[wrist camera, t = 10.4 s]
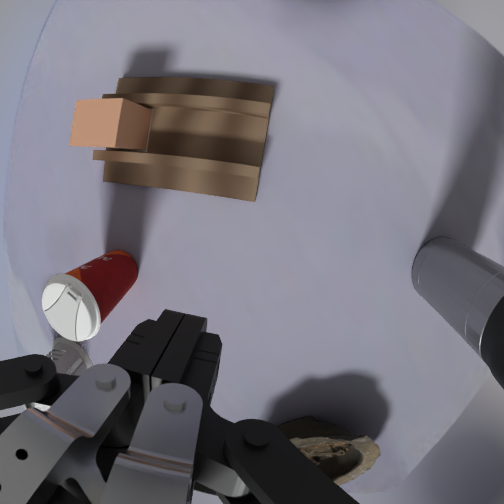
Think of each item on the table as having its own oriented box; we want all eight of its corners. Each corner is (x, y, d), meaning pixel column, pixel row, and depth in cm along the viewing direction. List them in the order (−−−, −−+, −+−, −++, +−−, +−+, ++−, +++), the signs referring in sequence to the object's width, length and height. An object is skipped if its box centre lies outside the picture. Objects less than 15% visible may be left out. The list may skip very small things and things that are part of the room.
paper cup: (112, 231, 37) (48, 263, 24) (155, 265, 38) (105, 313, 25) (90, 272, 39) (32, 314, 26) (130, 304, 40) (81, 358, 27)
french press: (44, 343, 44) (-33, 421, 20) (77, 328, 42) (-12, 423, 18) (73, 383, 47) (10, 468, 23) (109, 374, 45) (41, 478, 21)
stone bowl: (257, 395, 43) (259, 438, 34) (390, 399, 45) (409, 433, 36) (233, 469, 50) (233, 504, 41) (342, 470, 52) (350, 501, 43)
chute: (274, 88, 31) (274, 79, 27) (255, 201, 35) (253, 205, 31) (121, 79, 31) (107, 72, 28) (106, 180, 35) (90, 183, 32)
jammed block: (152, 110, 32) (123, 98, 24) (146, 149, 33) (114, 147, 25) (111, 109, 32) (76, 100, 24) (105, 147, 33) (69, 145, 25)
